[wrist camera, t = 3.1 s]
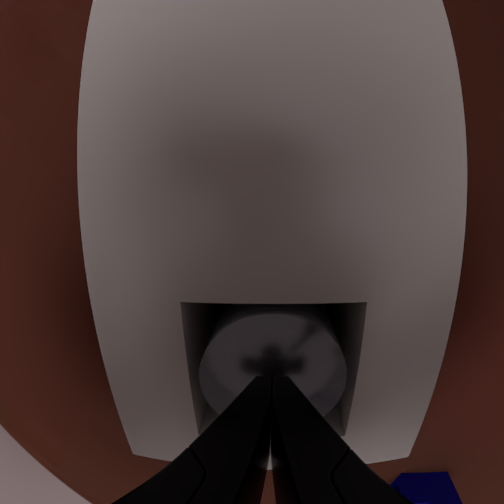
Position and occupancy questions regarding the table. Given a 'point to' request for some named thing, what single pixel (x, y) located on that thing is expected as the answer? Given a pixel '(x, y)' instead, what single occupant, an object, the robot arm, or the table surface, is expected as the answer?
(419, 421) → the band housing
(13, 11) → the table surface
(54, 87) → the table surface
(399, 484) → the blue arch block
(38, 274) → the table surface
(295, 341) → the peg
